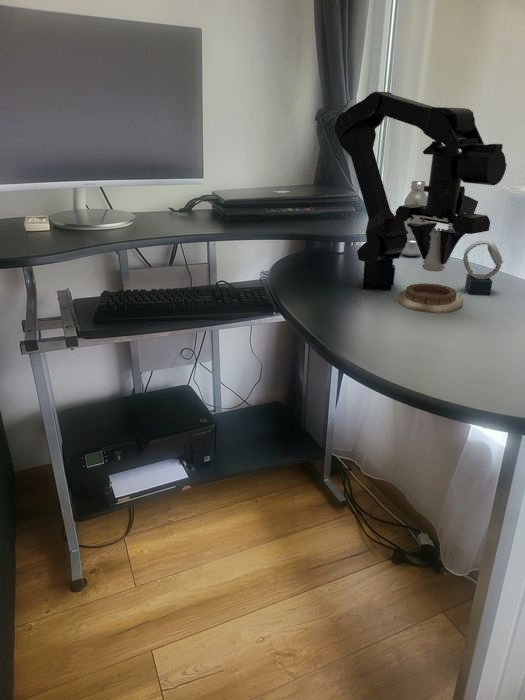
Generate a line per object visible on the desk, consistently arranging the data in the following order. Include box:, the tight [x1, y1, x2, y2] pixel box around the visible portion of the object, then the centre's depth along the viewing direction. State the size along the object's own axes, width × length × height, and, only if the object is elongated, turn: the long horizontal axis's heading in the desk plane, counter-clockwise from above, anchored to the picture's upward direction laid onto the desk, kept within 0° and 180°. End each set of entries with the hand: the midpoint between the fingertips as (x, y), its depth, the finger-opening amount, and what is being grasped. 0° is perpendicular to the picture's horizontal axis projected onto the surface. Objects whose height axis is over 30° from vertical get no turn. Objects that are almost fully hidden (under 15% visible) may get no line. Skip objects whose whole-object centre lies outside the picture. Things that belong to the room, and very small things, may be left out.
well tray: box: [397, 282, 464, 314], centre depth 107 cm, size 13×13×3 cm
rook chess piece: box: [421, 227, 446, 272], centre depth 103 cm, size 4×4×8 cm
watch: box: [462, 240, 504, 296], centre depth 112 cm, size 6×8×11 cm
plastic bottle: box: [401, 180, 428, 257], centre depth 141 cm, size 6×7×20 cm
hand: (434, 261), depth 104 cm, fingers closed on rook chess piece, 4 cm apart
